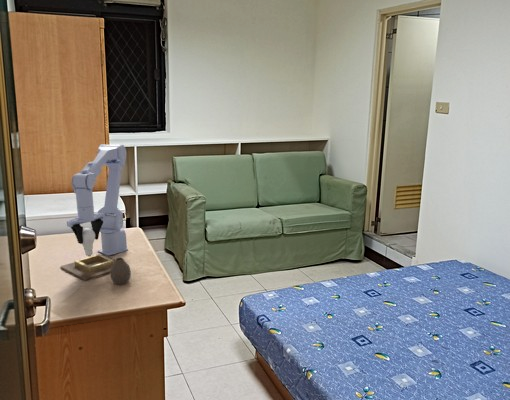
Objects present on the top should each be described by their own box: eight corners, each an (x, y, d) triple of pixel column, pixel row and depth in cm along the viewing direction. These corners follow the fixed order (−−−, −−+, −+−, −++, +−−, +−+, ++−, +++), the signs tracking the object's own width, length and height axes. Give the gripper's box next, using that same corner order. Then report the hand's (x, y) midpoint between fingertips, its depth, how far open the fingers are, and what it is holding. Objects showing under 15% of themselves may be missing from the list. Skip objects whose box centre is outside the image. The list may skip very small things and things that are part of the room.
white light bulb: (92, 259, 182) (88, 230, 180) (77, 258, 183) (73, 230, 181) (100, 253, 188) (97, 226, 186) (86, 253, 189) (82, 225, 187)
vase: (109, 280, 175) (107, 256, 173) (129, 277, 177) (127, 254, 175) (112, 287, 169) (110, 263, 166) (132, 284, 171) (131, 260, 169)
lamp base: (103, 255, 198) (103, 253, 198) (129, 267, 187) (128, 265, 187) (60, 268, 185) (60, 266, 185) (85, 281, 174) (85, 279, 174)
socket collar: (99, 258, 193) (99, 253, 193) (114, 265, 186) (114, 260, 186) (74, 266, 186) (74, 261, 185) (89, 273, 179) (88, 268, 178)
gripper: (96, 200, 189) (99, 234, 192) (61, 207, 178) (64, 243, 181) (107, 203, 184) (109, 237, 188) (71, 211, 174) (74, 247, 177)
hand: (88, 241), depth 184 cm, fingers closed on white light bulb, 6 cm apart
